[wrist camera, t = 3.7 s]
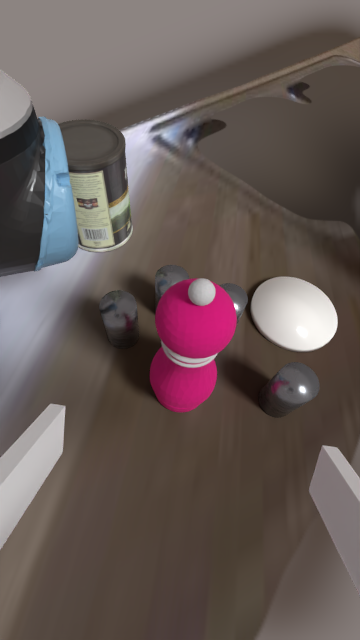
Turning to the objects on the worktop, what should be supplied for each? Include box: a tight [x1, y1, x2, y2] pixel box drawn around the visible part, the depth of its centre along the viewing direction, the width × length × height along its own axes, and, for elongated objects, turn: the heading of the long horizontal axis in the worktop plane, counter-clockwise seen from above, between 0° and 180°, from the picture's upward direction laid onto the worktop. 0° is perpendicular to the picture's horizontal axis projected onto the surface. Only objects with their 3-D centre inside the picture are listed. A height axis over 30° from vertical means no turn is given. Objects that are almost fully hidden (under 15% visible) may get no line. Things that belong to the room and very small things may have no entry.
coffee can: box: [58, 120, 133, 252], centre depth 42 cm, size 10×10×14 cm
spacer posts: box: [99, 265, 319, 418], centre depth 34 cm, size 20×18×7 cm
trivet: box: [250, 277, 338, 352], centre depth 42 cm, size 12×12×1 cm
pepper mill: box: [150, 278, 237, 412], centre depth 27 cm, size 7×7×20 cm
